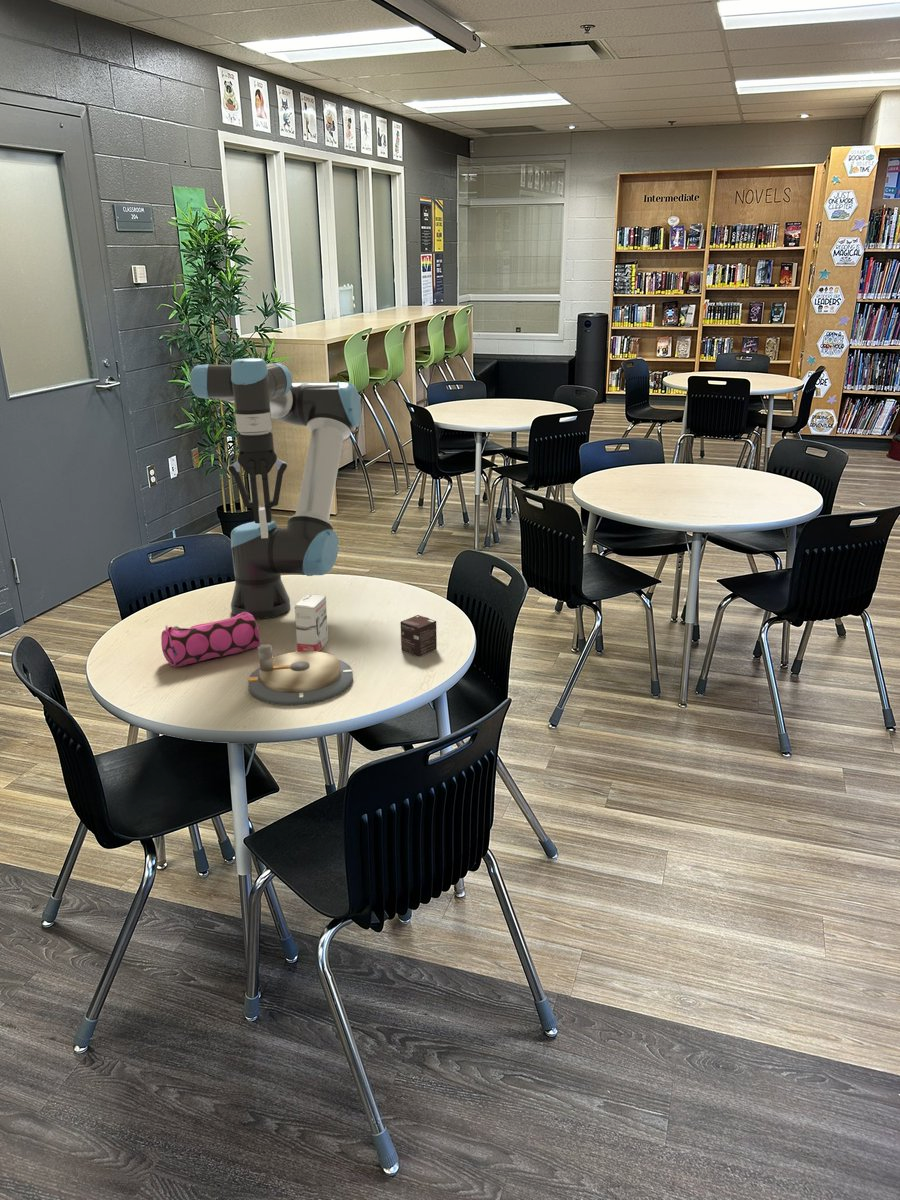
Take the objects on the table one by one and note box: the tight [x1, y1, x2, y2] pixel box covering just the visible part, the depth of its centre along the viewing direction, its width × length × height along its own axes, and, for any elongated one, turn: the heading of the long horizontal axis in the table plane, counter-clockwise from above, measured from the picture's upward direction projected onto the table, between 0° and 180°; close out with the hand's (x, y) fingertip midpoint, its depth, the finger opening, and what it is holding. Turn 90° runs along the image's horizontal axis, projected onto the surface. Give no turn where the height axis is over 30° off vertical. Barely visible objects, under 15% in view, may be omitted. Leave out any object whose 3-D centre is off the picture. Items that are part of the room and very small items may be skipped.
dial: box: [257, 643, 341, 693], centre depth 188 cm, size 17×17×7 cm
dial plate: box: [247, 658, 354, 706], centre depth 190 cm, size 22×22×2 cm
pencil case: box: [160, 612, 261, 667], centre depth 203 cm, size 21×10×10 cm, turn 125°
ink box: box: [294, 593, 329, 652], centre depth 206 cm, size 9×5×12 cm, turn 168°
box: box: [399, 614, 438, 658], centre depth 204 cm, size 6×6×7 cm
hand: (264, 536), depth 202 cm, fingers closed
